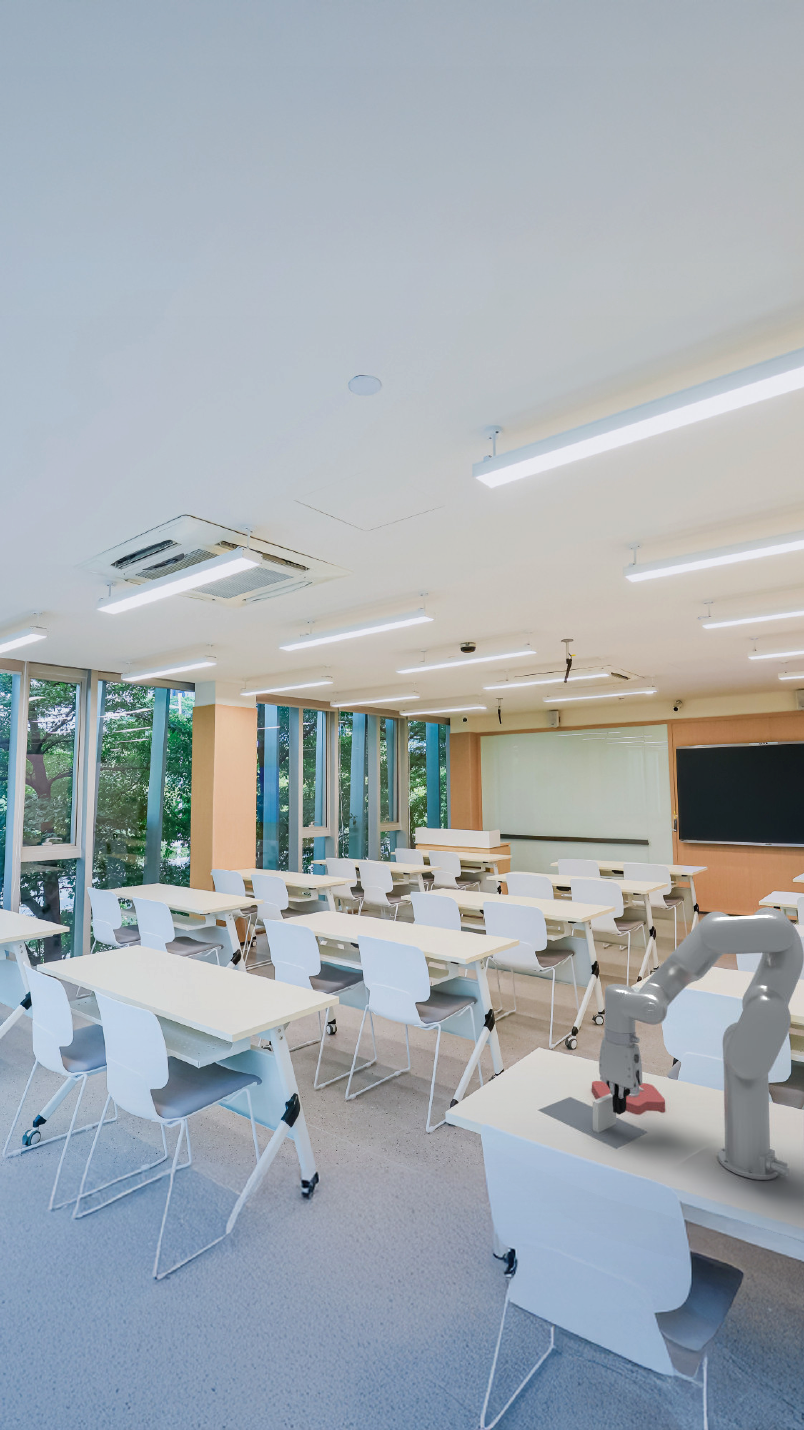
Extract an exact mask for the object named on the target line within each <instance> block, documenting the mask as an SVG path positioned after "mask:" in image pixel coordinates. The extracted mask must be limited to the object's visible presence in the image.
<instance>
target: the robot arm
mask: <svg viewBox="0 0 804 1430" xmlns="http://www.w3.org/2000/svg"><path fill="white" fill-rule="evenodd" d="M724 954H725V955H739V954H740V955H747V954H761V959H760V960H759V962H758V965H757V968H756V970H755V973H754V975H753V976H752V979H751V981H750V983H749V984H748V987H747V989H746V990H745V992H744V994H743V996H742V1000H741V1004H742V1012H741V1014H740V1016H739V1018H738V1021H737V1022H733V1023H731V1024H730V1025H728V1027H727V1028H726V1029H725V1031H724V1033H723V1035H722V1055H723V1056H722V1057H723V1059H722V1060H723V1109H724V1111H723V1112H724V1113H723V1114H724V1116H723V1117H724V1118H723V1119H724V1120H723V1121H724V1147H722V1148H720V1149H719V1150H718V1152H717V1159H718V1161H719V1164H721V1165H722V1166H723V1167H724V1168H725V1169H727V1170H728V1171H730V1172H731V1173H734V1174H736V1175H738V1176H741V1177H744V1178H747V1179H751V1180H759V1181H769V1180H773V1179H775V1178H777V1176H779V1175H781V1176H784V1177H786V1178H787V1177H789V1174H790V1168H789V1167H788V1163H787V1162H785V1161H782V1160H779V1159H777V1157H776V1152H775V1149H772V1148H771V1135H770V1134H771V1132H770V1131H771V1130H770V1129H771V1128H770V1090H769V1088H770V1085H769V1082H770V1081H769V1073H770V1071H771V1070H772V1068H773V1066H774V1064H775V1062H776V1061H777V1058H778V1056H779V1053H780V1052H781V1049H782V1047H783V1045H784V1042H786V1041H785V1040H786V1039H787V1036H788V1034H789V1031H790V1027H791V1023H792V1017H791V1015H792V1014H791V1012H790V1009H789V1004H790V1002H791V999H792V996H793V994H794V993H795V992H794V991H795V990H796V987H797V984H798V982H799V979H800V977H801V974H802V971H803V966H804V947H803V943H802V940H801V937H800V934H799V932H798V930H797V928H796V927H795V926H794V924H793V922H791V919H790V918H789V917H788V916H787V915H786V914H785V913H783V912H782V911H781V910H779V909H778V908H774V907H770V906H769V907H768V906H767V907H762V908H759V909H758V910H756V911H755V912H754V914H753V915H740V916H730V915H728V914H727V913H724V912H722V911H711V912H708V913H706V915H705V916H703V918H701V920H700V921H699V922H698V923H697V924H696V925H695V926H694V927H693V929H692V930H691V931H690V932H689V933H688V935H686V937H684V938H683V940H682V941H681V943H680V944H679V945H678V946H677V947H676V948H675V949H674V950H673V951H672V953H671V954H670V955H669V956H668V957H667V959H665V960H664V962H663V963H662V964H661V965H660V966H659V967H657V969H656V970H655V972H654V973H652V975H651V976H650V977H649V978H648V979H647V980H646V982H644V983H643V985H642V987H641V988H640V989H639V991H638V992H637V991H635V989H633V988H632V987H631V986H629V985H626V984H623V983H622V984H620V983H612V984H608V985H606V987H605V989H604V1037H602V1041H601V1042H600V1043H601V1044H600V1049H599V1057H598V1058H599V1059H598V1073H599V1075H600V1076H599V1079H600V1080H599V1081H603V1082H604V1083H606V1084H607V1086H608V1087H609V1089H610V1093H611V1094H612V1095H613V1096H612V1106H613V1112H614V1113H616V1115H621V1114H623V1113H624V1114H625V1113H626V1112H627V1111H626V1097H627V1096H628V1095H629V1094H633V1095H637V1094H639V1093H640V1090H639V1085H642V1083H643V1067H642V1064H643V1063H642V1057H641V1052H640V1046H639V1045H638V1044H640V1037H637V1032H636V1021H637V1022H641V1023H643V1024H647V1025H652V1026H655V1025H660V1024H662V1023H663V1021H665V1019H666V1017H667V1014H668V1013H667V1012H668V1007H669V1006H670V1004H672V1002H673V1001H674V1000H675V998H676V997H678V996H679V994H680V993H681V992H682V991H683V990H684V989H685V988H686V987H687V986H688V985H689V986H690V984H691V983H695V982H697V981H700V980H701V979H702V978H703V977H705V975H706V974H707V973H708V972H709V971H710V970H711V969H712V967H713V966H715V964H716V963H717V961H719V959H721V958H722V956H723V955H724Z"/></svg>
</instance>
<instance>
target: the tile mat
mask: <svg viewBox="0 0 804 1430" xmlns="http://www.w3.org/2000/svg"><path fill="white" fill-rule="evenodd" d="M538 1111H539V1112H541V1113H543V1114H544V1115H547V1116H548V1117H551V1118H553V1119H555V1120H557V1121H559V1122H561V1123H563V1124H565V1125H567V1126H569V1127H571V1128H573V1129H575V1130H577V1131H578V1132H579V1131H580V1132H581V1133H583V1134H586V1135H588V1136H590V1137H592V1138H594V1139H596V1140H597V1141H599V1142H602V1144H603V1143H604V1144H605V1145H608V1146H610V1147H612V1148H614V1149H615V1150H617V1149H618V1148H621V1147H623V1146H624V1145H627V1144H628V1143H630V1142H632V1141H634V1140H636V1139H637V1138H640V1137H642V1136H644V1135H646V1134H647V1133H648V1131H647V1130H645V1129H642V1128H640V1127H638V1126H636V1125H633V1124H631V1123H629V1122H627V1121H626V1120H625V1121H624V1120H623V1119H620V1118H618V1117H616V1124H615V1125H613V1126H611V1127H609V1128H607V1129H605V1130H603V1131H601V1132H596V1131H594V1130H593V1105H592V1106H591V1105H589V1104H587V1103H585V1102H582V1101H580V1100H578V1099H576V1098H574V1097H572V1096H569V1097H565V1098H564V1099H561V1100H558V1101H556V1102H554V1103H552V1104H549V1105H547V1106H545V1107H541V1108H539V1109H538Z"/></svg>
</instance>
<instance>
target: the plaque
mask: <svg viewBox="0 0 804 1430" xmlns="http://www.w3.org/2000/svg"><path fill="white" fill-rule="evenodd" d="M639 1090H640V1093H639V1094H637V1095H633V1094H629V1095H628V1096H627V1097H626V1111H625V1112H628V1113H632V1114H634V1115H637V1116H639V1115H642V1114H643V1113H645V1112H647V1111H649V1112H650V1111H651V1112H652V1111H653V1112H659V1113H661V1114H663V1113H665V1112H666V1099H665V1097H663V1096H662V1094H661V1093H660V1092H659V1091H658V1089H657V1088H656V1087H655V1086H654V1085H653V1084H650V1083H647V1082H646V1083H645V1082H642V1085H639ZM591 1093H592V1095H593V1096H594V1098H595V1100H596V1099H598V1098H601V1097H603V1096H605V1095H608V1094H610V1089H609V1087H608V1086H607V1084H606V1083H604V1082H603V1081H601V1080H595V1081H594V1080H593V1081H592V1082H591Z"/></svg>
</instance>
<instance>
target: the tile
mask: <svg viewBox="0 0 804 1430" xmlns="http://www.w3.org/2000/svg"><path fill="white" fill-rule="evenodd" d="M612 1096H613V1095H612V1094H611V1093H610V1094H608V1095H605V1096H603V1097H601V1098H598V1099H596V1098H595V1099H594V1100H593V1101H592V1107H593V1130H594V1131H596V1132H601V1131H603V1130H605V1129H607V1128H609V1127H611V1126H613V1125H615V1124H616V1118H617V1113H614V1112H613V1106H612Z"/></svg>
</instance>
